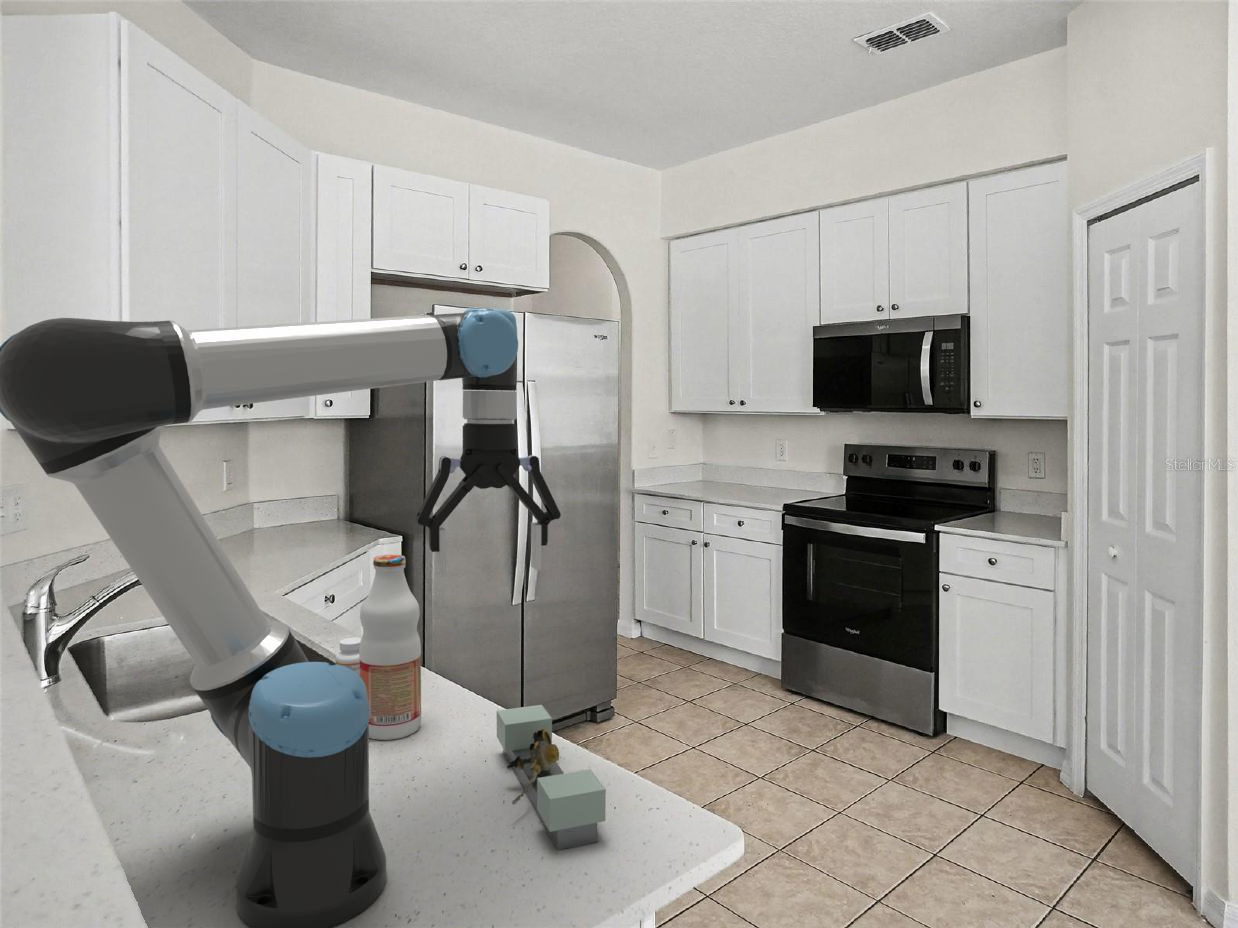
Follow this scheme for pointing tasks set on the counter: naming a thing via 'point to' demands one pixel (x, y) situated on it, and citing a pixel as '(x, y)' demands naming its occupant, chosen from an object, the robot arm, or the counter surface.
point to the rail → (559, 837)
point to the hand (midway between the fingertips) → (489, 571)
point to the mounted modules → (557, 795)
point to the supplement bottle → (349, 654)
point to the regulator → (537, 757)
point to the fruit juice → (391, 652)
